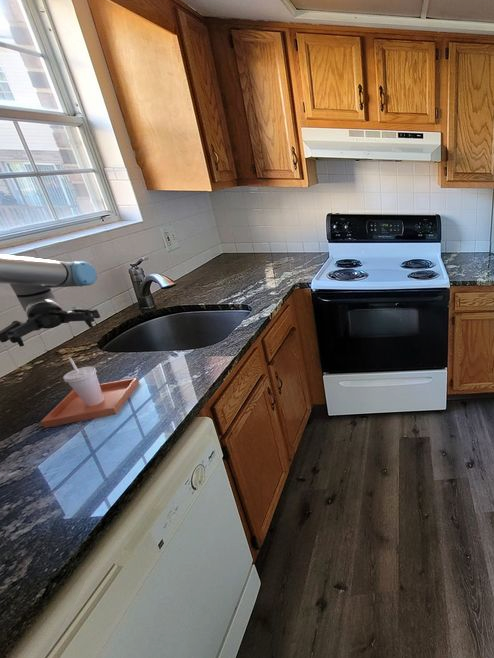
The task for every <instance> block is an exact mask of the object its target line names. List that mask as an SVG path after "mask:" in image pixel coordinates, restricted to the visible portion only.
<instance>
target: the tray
mask: <svg viewBox="0 0 494 658" xmlns="http://www.w3.org/2000/svg"><path fill="white" fill-rule="evenodd" d="M99 385H100V388H101V391H102V394H103V397H104V401H103V402H101V403H99V404H97V405H94V406H87V405H86V404H85V403H84V402H83V401H82V399H81V398H80V397H79V396H78V394H77V393H76V392H75V391H74V390H73V389H72V390H71V391H70V392H69V393H68V394H67V395H65V397H64V398H63V399H62V400H61V401H60V402H59V403H57V405H56V406H55V407H53V409H52V410H50V412H48V414H46V416H45V417H44V418H43V419H41V420H40V424H41V425H42V427H43V428H44V429H46V428H50V427H52V428H53V427H57V426H61V425H66V424H71V423H77V422H82V421H87V420H88V421H89V420H93V419H98V418H102V417H108V416H113V415H117V414H118V413H119V411H120V410H121V409H122V407H123V406H124V405H125V403H126V402H127V401H128V399H129V398H130V397H131V395H132V394H133V393H134V391H135V390H136V388H138V386H139V385H140V381H139V379H138V377H133V378H132V377H131V378H126V379H122V380H115V381H110V382H109V381H108V382H103V383H99Z"/></svg>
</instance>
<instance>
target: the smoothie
mask: <svg viewBox="0 0 494 658" xmlns="http://www.w3.org/2000/svg"><path fill="white" fill-rule="evenodd" d="M68 360H69V362H70V365H71V366H72V368H73V369H72V370H71V371H68V372H67V373H66V374H64V375H63V377H62V379H63V380H64V381H63V382H65V383H68V386H69V387H70V388H71V389H72V390H74V391H75V392H76V393H77V394H78V396H79V397H80V398H81V399H82V401H83V402H84V403H85V404H86V405H87V406H94V405H97V404H99V403H101V402H103V401H104V397H103V394H102V391H101V388H100V385H99V384H100V382H99V378H98V375H97V372H98V370H97V369H96V367H95V366H90V365H89V366H82V367H80V368H78V367H77V365H76V364H75V362H74V360H73V358H72V357H69V358H68Z"/></svg>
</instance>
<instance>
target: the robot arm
mask: <svg viewBox="0 0 494 658" xmlns="http://www.w3.org/2000/svg"><path fill="white" fill-rule="evenodd" d="M97 278H98V275H97V270H96V268H95V267H94V265H92V264H91V263H90V262H87V261H79V260H78V261H77V260H75V261H62V260H53V259H44V258H35V257H33V256H19V255H10V254H1V253H0V284H8V285H10V287H11V289H12V291H13V293H14V294H15V295H16V298H17V300H18V301H19V303H20V306H21V307H22V310H23V311H24V312H25V315H26V317H27V319H26V321H19V320H13V321H11V323H10V324H9V325H8V326H6V327H5V328H3V329H1V330H0V343H6V342H7V341H10V343H12V344H16V343H17V344H18V346H19V348H21V347H25V344H24V341H23V338H22V337H24V336H26V335H28V334H30V333H32V332H35V331H40V330H42V329H43V330H46V329H47V330H48V329H49V330H50V329H54V328H57V327H59V326H61V325H62V324H68V323H70V322H84V323H85V324H86V326H87V327H88V328H89V329H91V328H94V325H93V323H92V322H95V319H100V318H101V315H100V312H99V311H98V309H96V308H86V307H85V308H83V307H78V306H73V307H72V308H71V309H70V310H69V311H68V310H64V309H63V308H62V307H61V306H60V304H59V301H58V300H57V299H56V297H55V295H54V293H53V291H52V289H54V288H71V287H73V288H74V287H87V286H92V285H93V284H95V282H96V281H97Z"/></svg>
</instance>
